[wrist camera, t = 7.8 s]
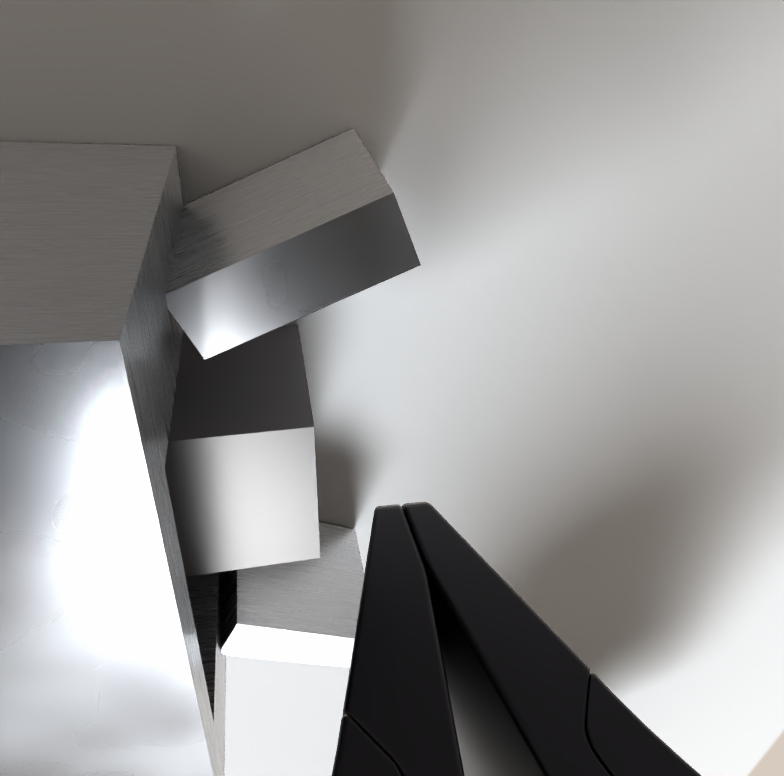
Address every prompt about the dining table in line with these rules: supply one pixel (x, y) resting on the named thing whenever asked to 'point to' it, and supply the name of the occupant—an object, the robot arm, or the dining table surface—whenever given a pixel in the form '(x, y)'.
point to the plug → (243, 456)
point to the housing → (152, 440)
